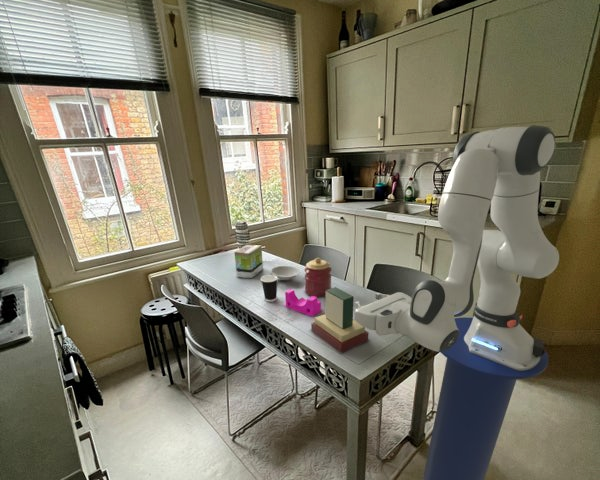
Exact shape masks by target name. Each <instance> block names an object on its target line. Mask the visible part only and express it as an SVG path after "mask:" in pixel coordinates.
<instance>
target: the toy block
mask: <svg viewBox="0 0 600 480" xmlns="http://www.w3.org/2000/svg"><path fill="white" fill-rule="evenodd" d="M284 295H285V308H288V309H291V310H294V311H296V312H299V313H301V314H304V315H307V316H310V317H312V318H313V317H314V316H316V315H317V314H319V313H320V312H322V301H320V300H318V297H315V296H310V297H308V298H307V299H305V298H304V297H301V298H299V297H298V296H297V295H296V293H295V289H292V288H290V289H288V290H285V292H284Z"/></svg>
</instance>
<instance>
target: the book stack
mask: <svg viewBox="0 0 600 480" xmlns="http://www.w3.org/2000/svg"><path fill="white" fill-rule="evenodd" d="M310 324H311V325H310V327H311V330H310V331H311V332H312V333H313V334H315V335H316V336H318V337H319V338H320V339H322V340H323V341H324V342H325V343H327V344H329V345H330V346H331V347H332V348H334V349H335V350H336V351H338V353H341V354H343V353H344V352H347V351H349V350H351V349H353V348H356V347H357V346H359V345H362V344H364V343H365V342H368V341H369V331H367V330H365V329H366V327H364V326H362V325H360V324H359V323H357V322H356V320H355V318H353V326H351V327H348V328H346V329H342V328H340V327H338V326H337V325H335V324H334V323H332V322H331V321H329V320H328V319H326V313H324V314H321V315H319V316H316V317H314V322H311V323H310Z"/></svg>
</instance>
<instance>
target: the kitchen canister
mask: <svg viewBox="0 0 600 480" xmlns="http://www.w3.org/2000/svg"><path fill="white" fill-rule="evenodd" d="M304 272H305V274H304V283H305V284H304V291H305V293H306V294H307V295H308V296H310V297H312V296H314V297H317V298H321V297H326V290H328V289H331V288H332V274H331V272H332V267H331V264H330V263H329V262H328V261H326V260H325V259H321V258H320V257H316V258H315V259H312V260H310V261H308V262H307V263H306V264H305V268H304Z"/></svg>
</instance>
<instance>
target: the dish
mask: <svg viewBox="0 0 600 480" xmlns="http://www.w3.org/2000/svg"><path fill="white" fill-rule="evenodd" d="M270 273H271V275H275V276H277V277H278V279H277V280H282V281H291V280H293V279H295V278H296V277H297V276H298V275H300V273H301V272H300V269H298V268H297V267H295V266H292V265H277V266H274V267H272V268H271V269H270Z"/></svg>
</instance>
